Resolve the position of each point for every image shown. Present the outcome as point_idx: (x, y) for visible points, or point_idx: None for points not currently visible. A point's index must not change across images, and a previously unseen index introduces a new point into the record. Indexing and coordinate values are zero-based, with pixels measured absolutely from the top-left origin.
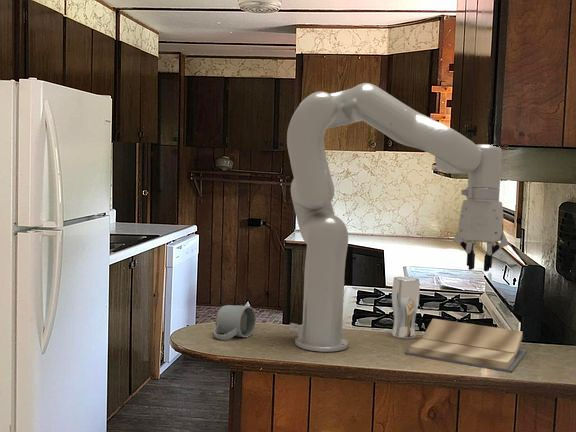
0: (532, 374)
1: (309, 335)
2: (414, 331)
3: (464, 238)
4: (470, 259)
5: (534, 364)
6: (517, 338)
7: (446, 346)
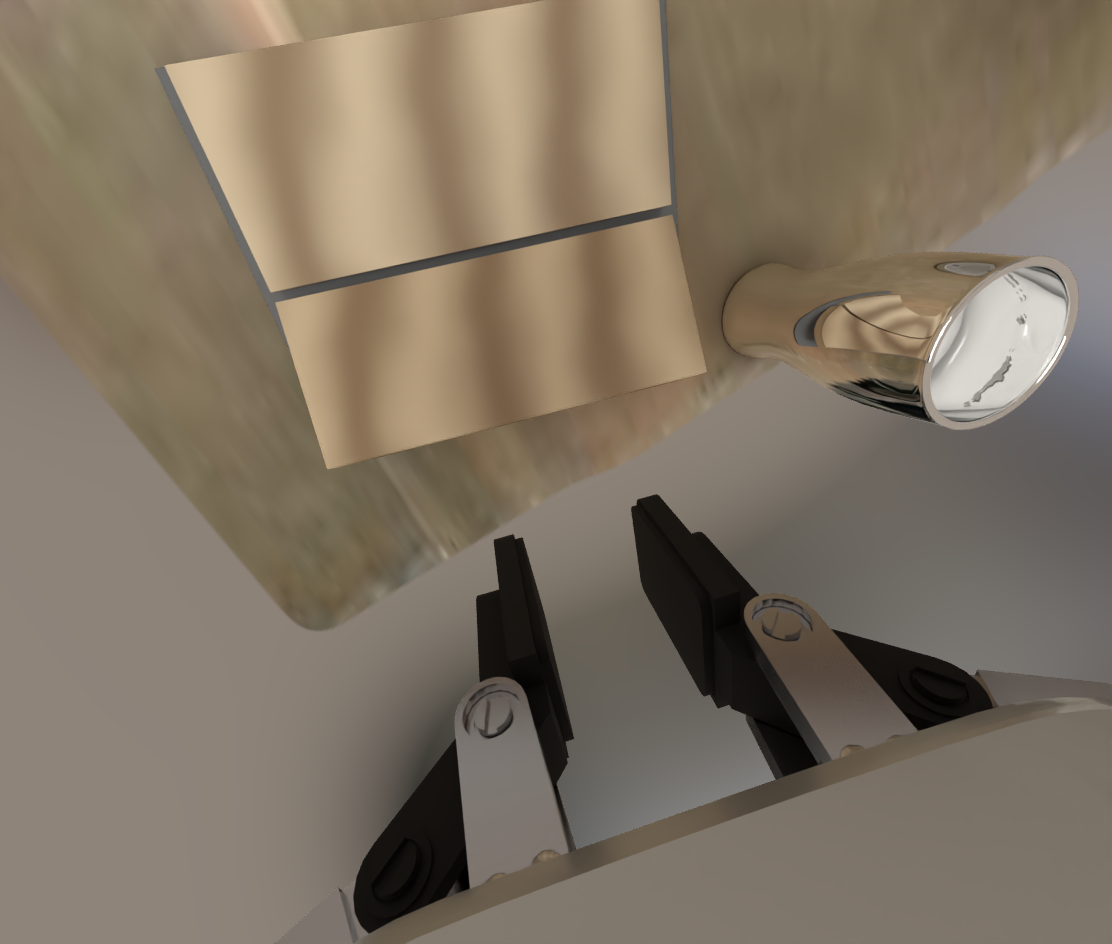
0: (89, 131)
1: None
2: (737, 325)
3: (1076, 729)
4: (686, 551)
5: (211, 317)
6: (319, 407)
7: (532, 148)
